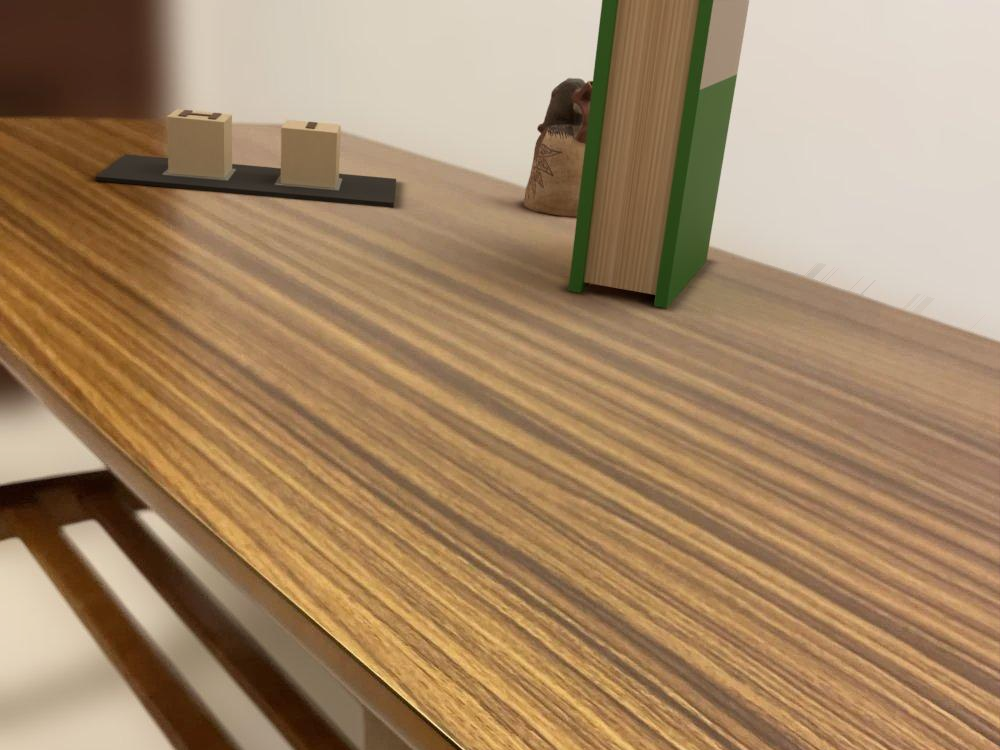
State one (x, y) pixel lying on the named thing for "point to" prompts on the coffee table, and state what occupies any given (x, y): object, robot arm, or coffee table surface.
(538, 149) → the figurine
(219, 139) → the tile
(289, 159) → the tile
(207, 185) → the word mat
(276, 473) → the coffee table surface
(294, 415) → the coffee table surface
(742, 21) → the hardback book
